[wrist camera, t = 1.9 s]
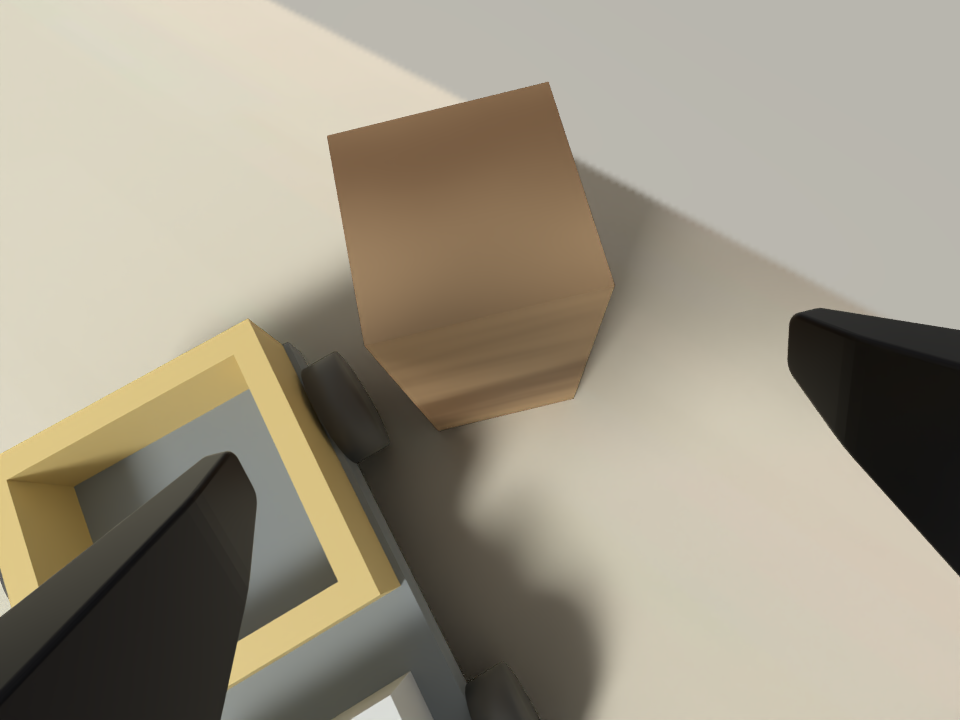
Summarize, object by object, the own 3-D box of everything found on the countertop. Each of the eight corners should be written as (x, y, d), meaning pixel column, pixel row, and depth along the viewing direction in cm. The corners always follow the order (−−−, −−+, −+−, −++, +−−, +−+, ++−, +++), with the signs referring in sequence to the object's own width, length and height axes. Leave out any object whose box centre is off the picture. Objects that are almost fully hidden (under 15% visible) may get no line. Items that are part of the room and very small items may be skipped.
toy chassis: (579, 795, 17) (602, 902, 12) (237, 1019, 16) (112, 1232, 11) (343, 348, 22) (290, 294, 17) (66, 503, 21) (-76, 495, 16)
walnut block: (573, 398, 21) (614, 285, 11) (438, 431, 21) (364, 346, 11) (538, 274, 22) (547, 81, 13) (411, 305, 22) (327, 135, 13)
